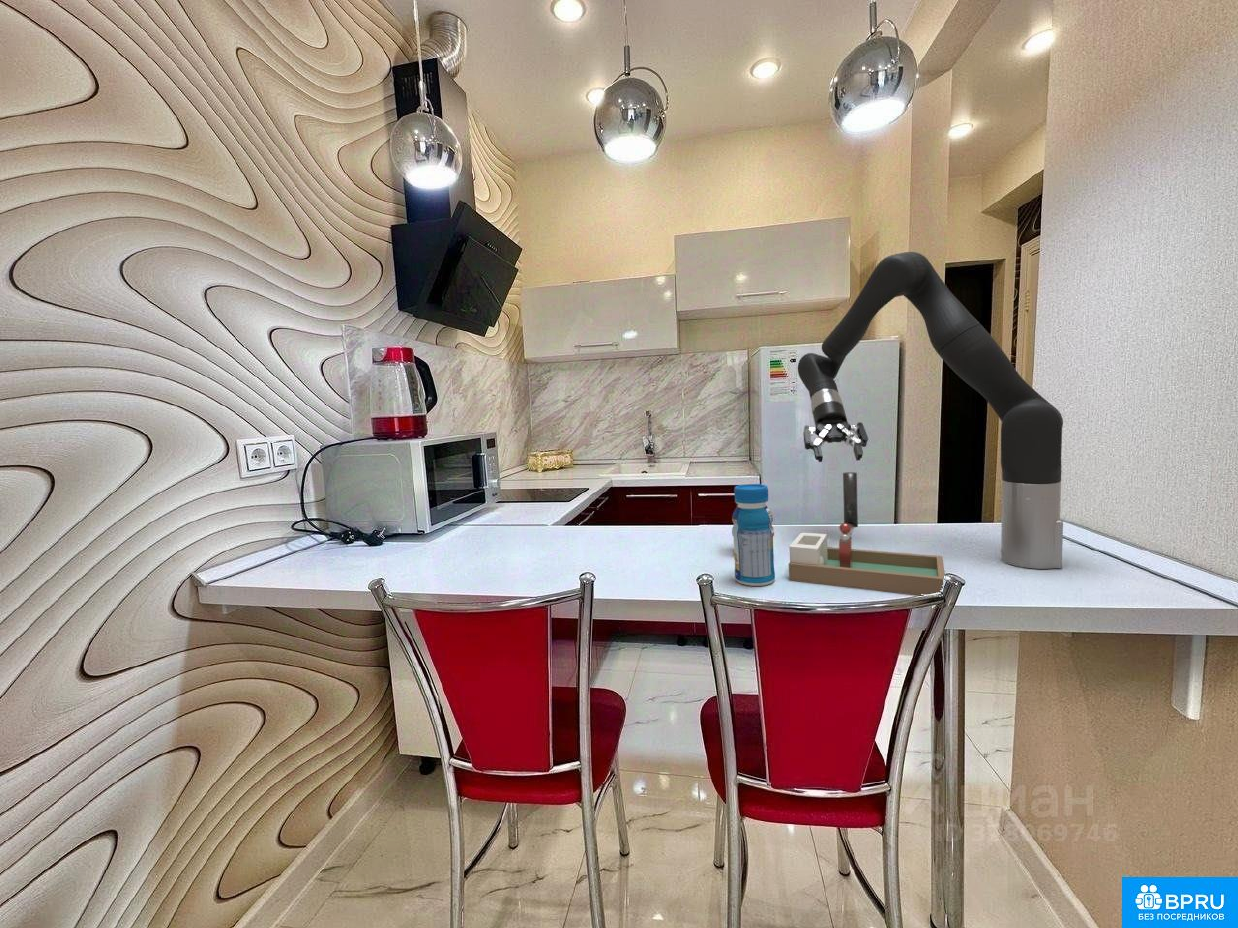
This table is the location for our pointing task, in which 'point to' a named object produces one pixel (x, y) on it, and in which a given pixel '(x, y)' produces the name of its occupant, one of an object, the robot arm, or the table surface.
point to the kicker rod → (848, 518)
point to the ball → (821, 560)
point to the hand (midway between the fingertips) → (839, 459)
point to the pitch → (864, 568)
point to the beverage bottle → (753, 536)
